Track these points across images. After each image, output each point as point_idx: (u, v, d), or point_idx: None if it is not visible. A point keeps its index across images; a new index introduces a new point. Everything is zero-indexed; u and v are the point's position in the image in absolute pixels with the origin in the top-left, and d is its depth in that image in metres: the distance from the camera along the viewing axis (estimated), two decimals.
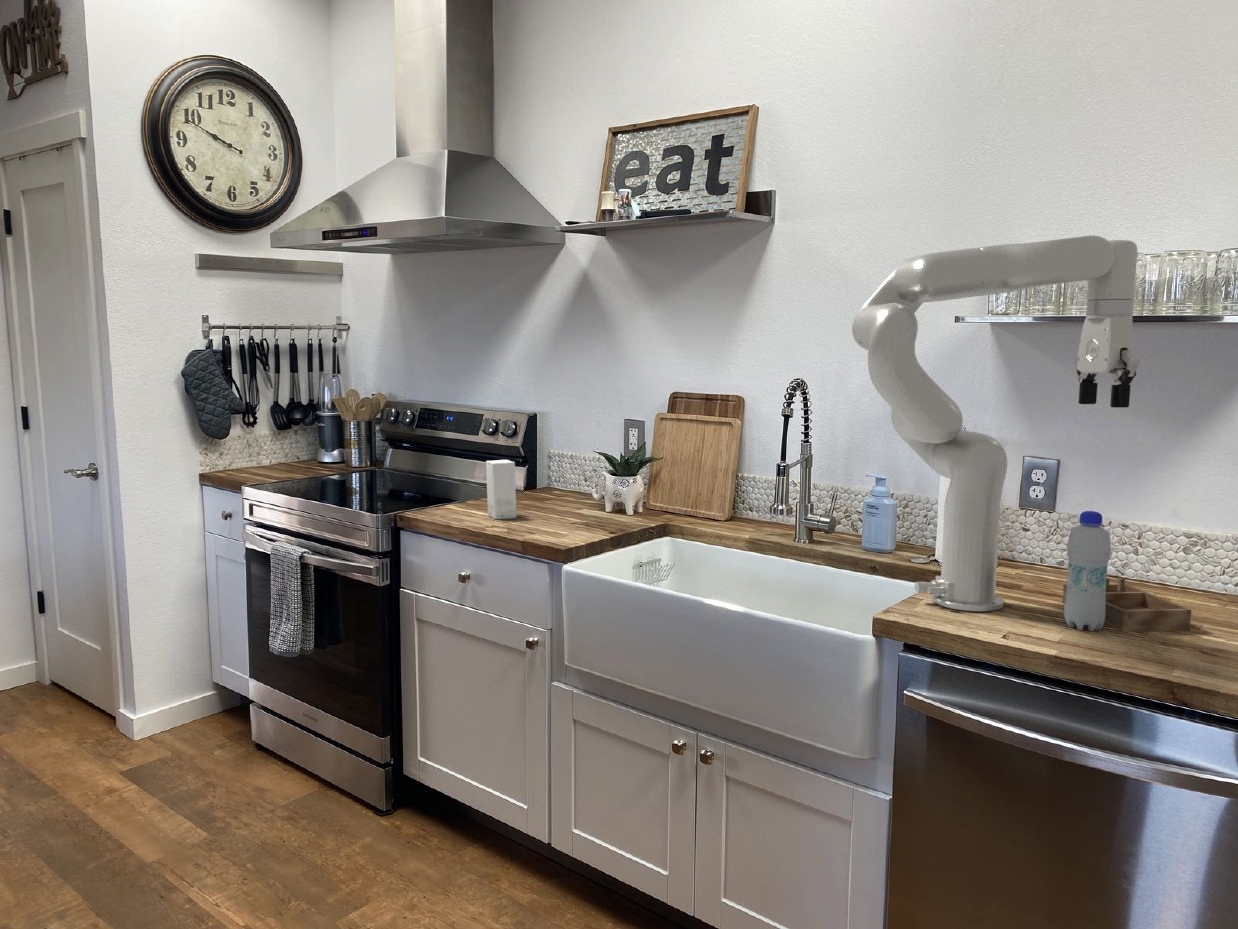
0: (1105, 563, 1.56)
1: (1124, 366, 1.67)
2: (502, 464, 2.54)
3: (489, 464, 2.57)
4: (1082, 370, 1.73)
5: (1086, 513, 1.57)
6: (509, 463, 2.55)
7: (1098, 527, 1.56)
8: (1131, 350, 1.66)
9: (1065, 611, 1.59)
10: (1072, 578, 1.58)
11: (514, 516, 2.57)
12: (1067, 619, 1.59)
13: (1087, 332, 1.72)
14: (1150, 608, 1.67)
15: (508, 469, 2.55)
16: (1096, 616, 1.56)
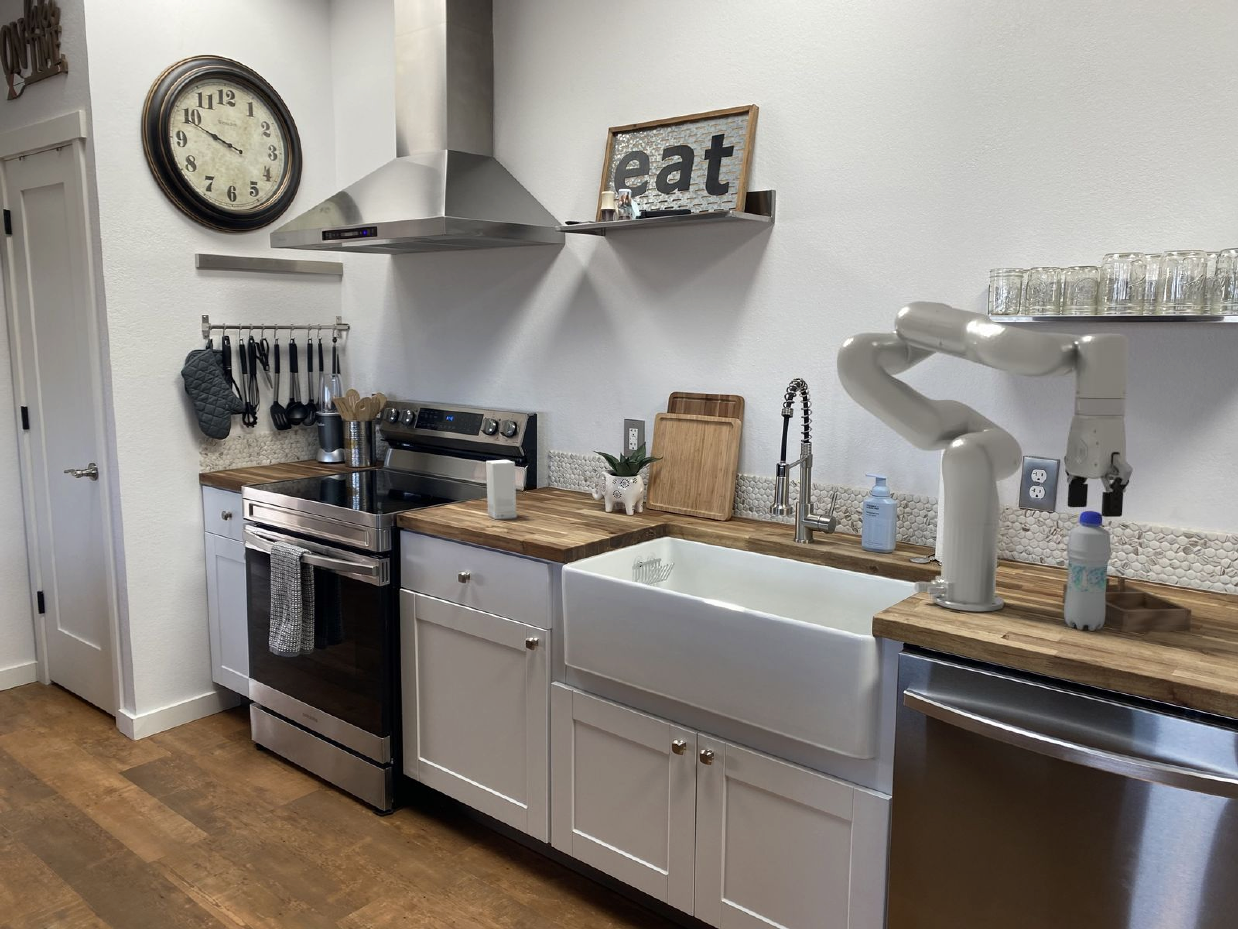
0: (1105, 563, 1.56)
1: (1116, 471, 1.52)
2: (502, 464, 2.55)
3: (489, 464, 2.57)
4: (1070, 472, 1.58)
5: (1086, 513, 1.57)
6: (509, 463, 2.55)
7: (1098, 527, 1.56)
8: (1123, 454, 1.51)
9: (1065, 611, 1.59)
10: (1072, 578, 1.58)
11: (514, 516, 2.57)
12: (1067, 619, 1.59)
13: (1075, 431, 1.57)
14: (1150, 608, 1.67)
15: (508, 469, 2.55)
16: (1096, 616, 1.56)
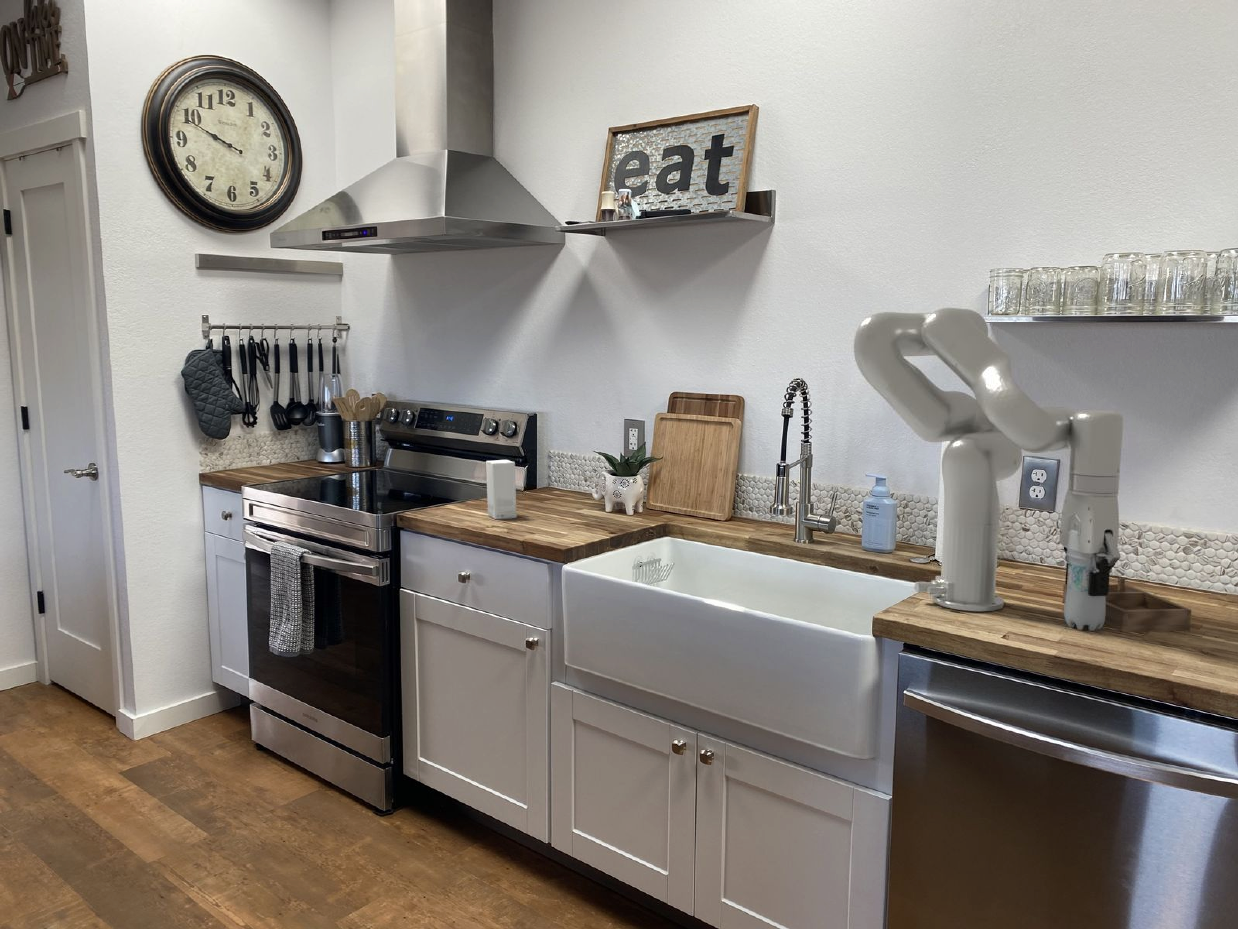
0: None
1: (1106, 550, 1.55)
2: (502, 464, 2.55)
3: (489, 464, 2.57)
4: (1064, 545, 1.60)
5: None
6: (509, 463, 2.55)
7: None
8: (1116, 532, 1.53)
9: (1065, 611, 1.59)
10: (1072, 578, 1.58)
11: (514, 516, 2.57)
12: (1067, 619, 1.59)
13: (1069, 506, 1.59)
14: (1150, 608, 1.67)
15: (508, 469, 2.55)
16: (1096, 616, 1.56)
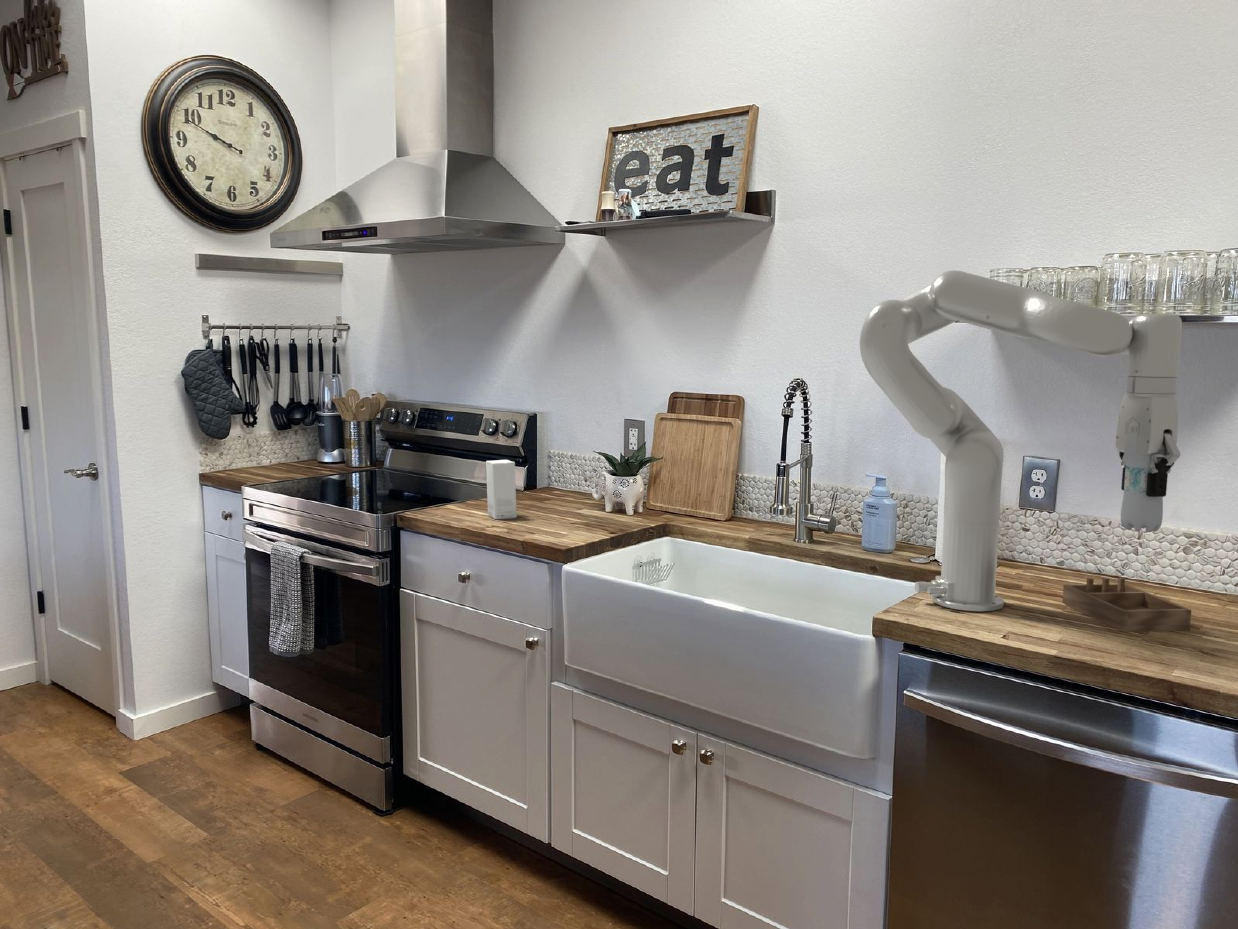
0: None
1: (1165, 451, 1.57)
2: (502, 464, 2.54)
3: (489, 464, 2.57)
4: (1121, 449, 1.62)
5: None
6: (509, 463, 2.55)
7: None
8: (1175, 432, 1.55)
9: (1122, 514, 1.61)
10: (1130, 480, 1.60)
11: (514, 516, 2.57)
12: (1125, 521, 1.61)
13: (1127, 409, 1.61)
14: (1150, 608, 1.67)
15: (508, 469, 2.55)
16: (1154, 517, 1.58)
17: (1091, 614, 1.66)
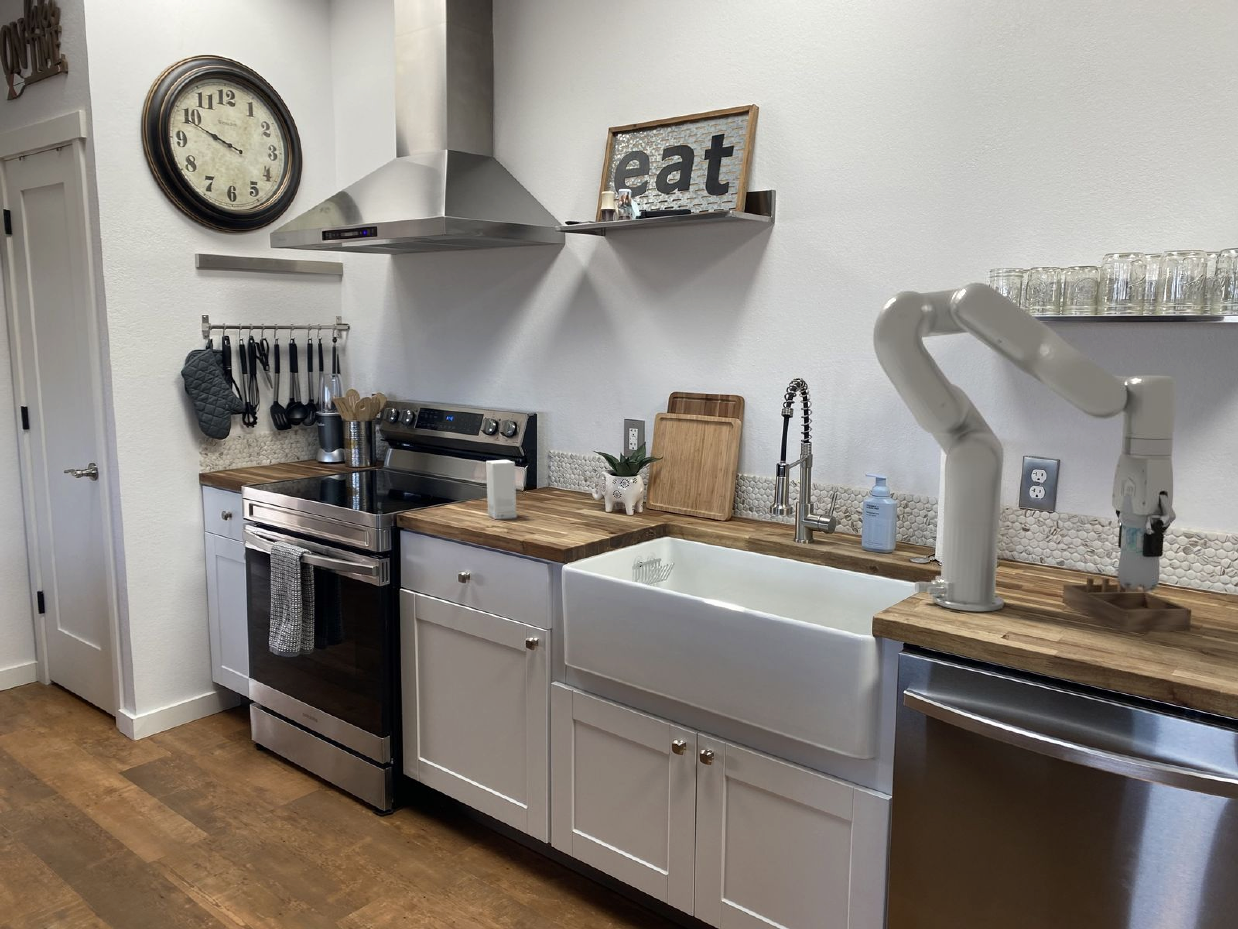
0: None
1: (1160, 512, 1.58)
2: (502, 464, 2.54)
3: (489, 464, 2.57)
4: (1117, 508, 1.63)
5: None
6: (509, 463, 2.55)
7: None
8: (1171, 493, 1.56)
9: (1119, 573, 1.63)
10: (1126, 540, 1.61)
11: (514, 516, 2.57)
12: (1122, 580, 1.62)
13: (1123, 469, 1.62)
14: (1150, 608, 1.67)
15: (508, 469, 2.55)
16: (1151, 577, 1.59)
17: (1091, 614, 1.66)
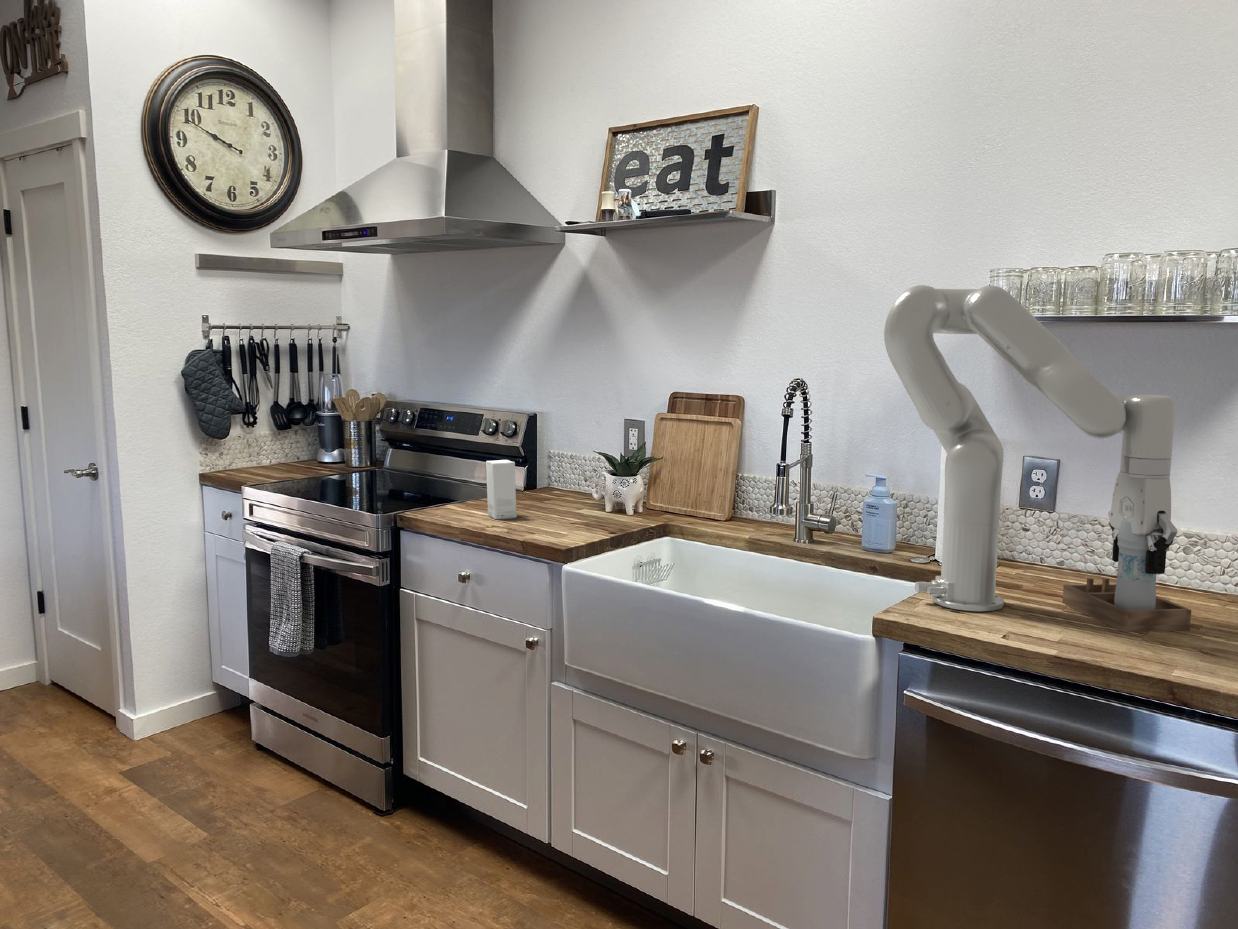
0: None
1: (1160, 529, 1.58)
2: (502, 464, 2.55)
3: (489, 464, 2.57)
4: (1115, 527, 1.64)
5: None
6: (509, 463, 2.55)
7: None
8: (1169, 513, 1.56)
9: (1116, 600, 1.63)
10: (1123, 567, 1.61)
11: (514, 516, 2.57)
12: None
13: (1121, 488, 1.62)
14: None
15: (508, 469, 2.55)
16: (1147, 605, 1.60)
17: (1091, 614, 1.66)
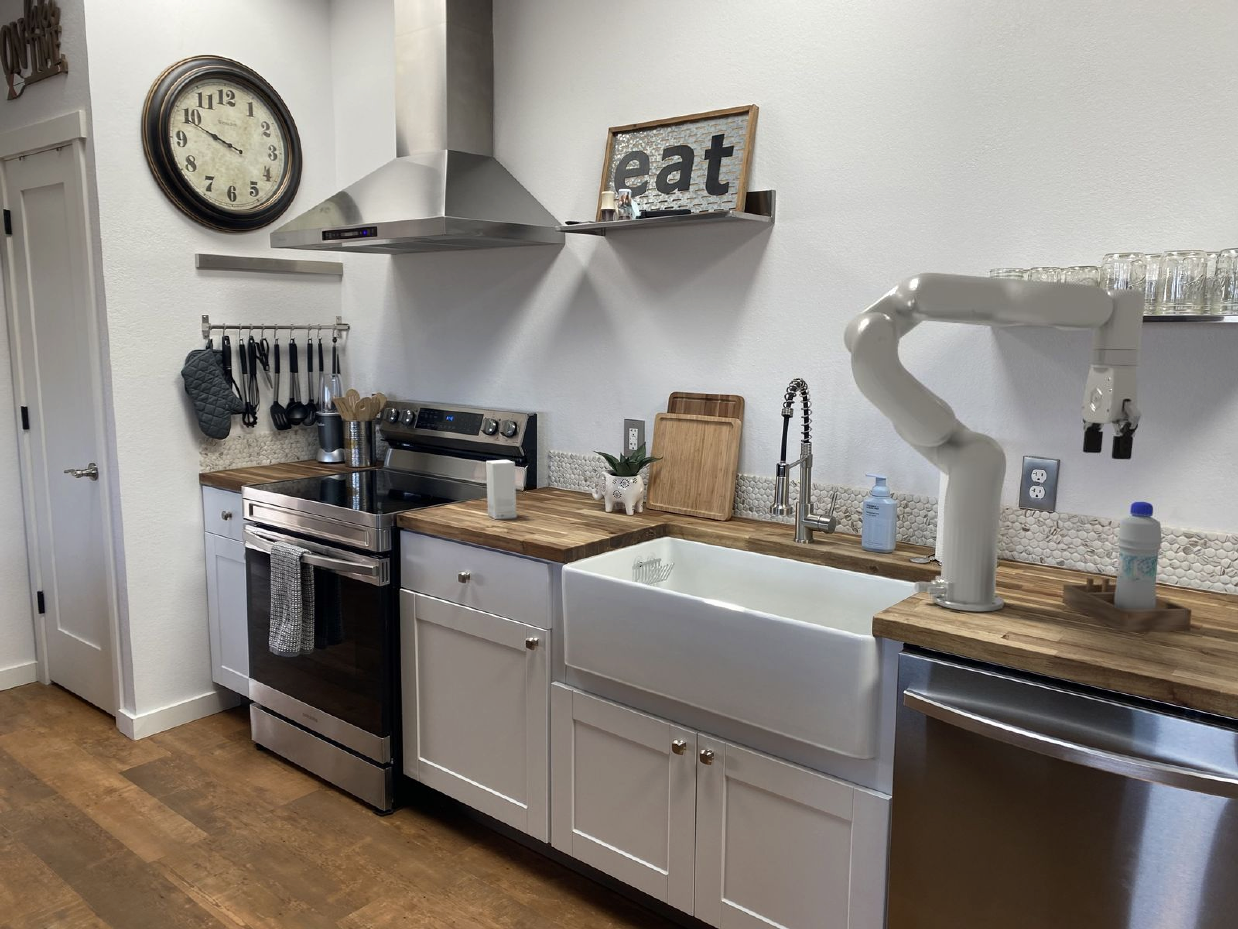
0: (1156, 552, 1.59)
1: (1127, 417, 1.64)
2: (502, 464, 2.54)
3: (489, 464, 2.57)
4: (1086, 419, 1.71)
5: (1137, 504, 1.60)
6: (509, 463, 2.55)
7: (1149, 517, 1.60)
8: (1134, 401, 1.63)
9: (1116, 600, 1.63)
10: (1123, 567, 1.61)
11: (514, 516, 2.57)
12: None
13: (1092, 381, 1.69)
14: None
15: (508, 469, 2.55)
16: (1147, 605, 1.60)
17: (1091, 614, 1.66)
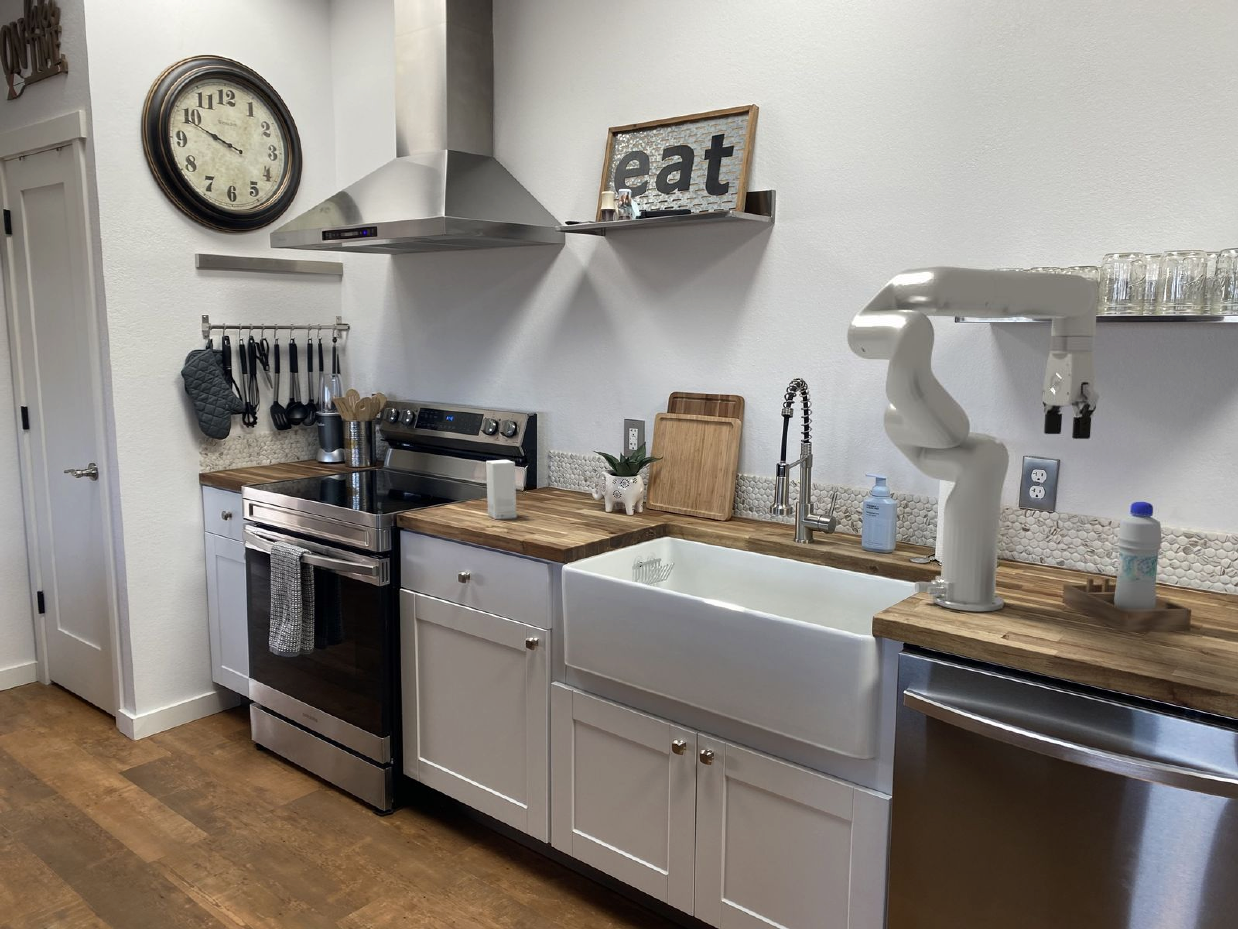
0: (1156, 552, 1.59)
1: (1085, 399, 1.76)
2: (502, 464, 2.54)
3: (489, 464, 2.57)
4: (1047, 402, 1.82)
5: (1137, 504, 1.60)
6: (509, 463, 2.55)
7: (1149, 517, 1.60)
8: (1092, 384, 1.74)
9: (1116, 600, 1.63)
10: (1123, 567, 1.61)
11: (514, 516, 2.57)
12: None
13: (1051, 366, 1.80)
14: None
15: (508, 469, 2.55)
16: (1147, 605, 1.60)
17: (1091, 614, 1.66)
